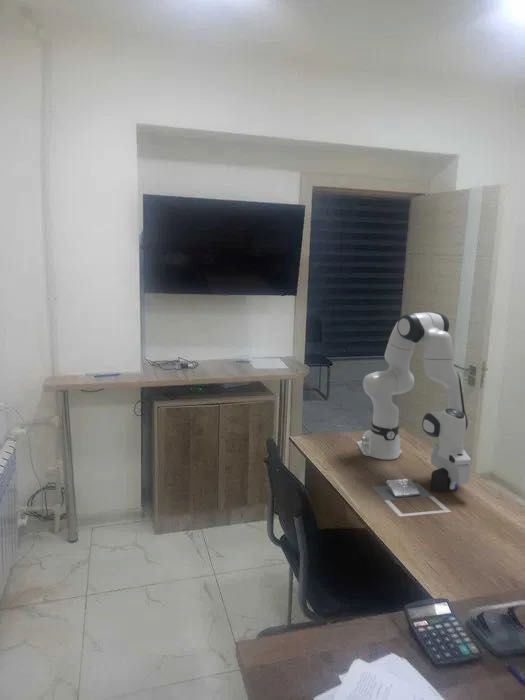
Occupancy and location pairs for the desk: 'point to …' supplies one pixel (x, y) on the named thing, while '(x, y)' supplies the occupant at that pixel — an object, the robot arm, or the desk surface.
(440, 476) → the leaning round-cornered charcoal block
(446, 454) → the robot arm
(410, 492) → the light grey rectangular plate
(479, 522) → the desk surface
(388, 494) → the mounting board
